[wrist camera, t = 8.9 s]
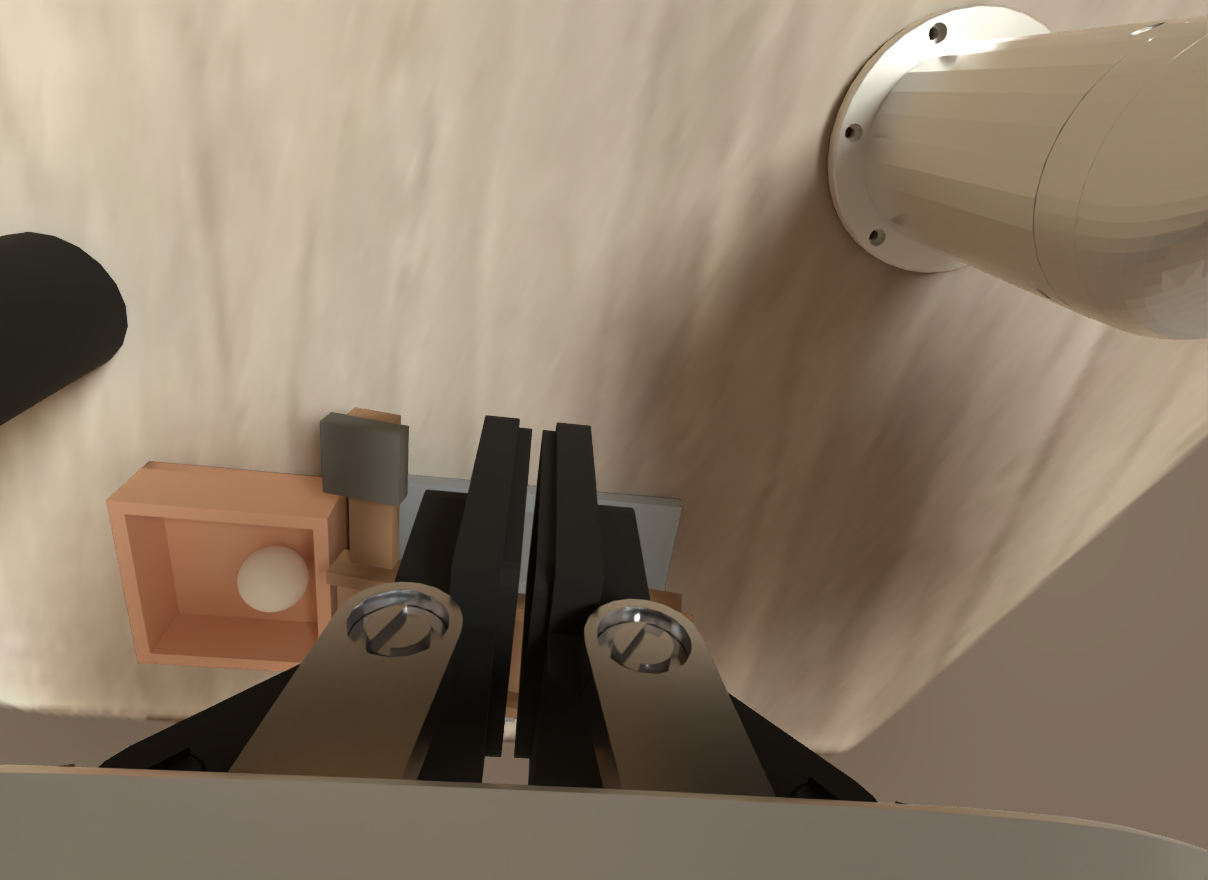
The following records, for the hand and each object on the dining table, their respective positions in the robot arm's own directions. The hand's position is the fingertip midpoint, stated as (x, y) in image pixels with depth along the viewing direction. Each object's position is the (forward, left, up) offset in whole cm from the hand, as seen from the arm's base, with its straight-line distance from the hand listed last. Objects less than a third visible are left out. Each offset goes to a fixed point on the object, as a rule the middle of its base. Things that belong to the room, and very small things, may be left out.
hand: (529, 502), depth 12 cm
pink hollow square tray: (+16, +23, -29) cm, 41 cm away
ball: (+14, +23, -26) cm, 38 cm away
